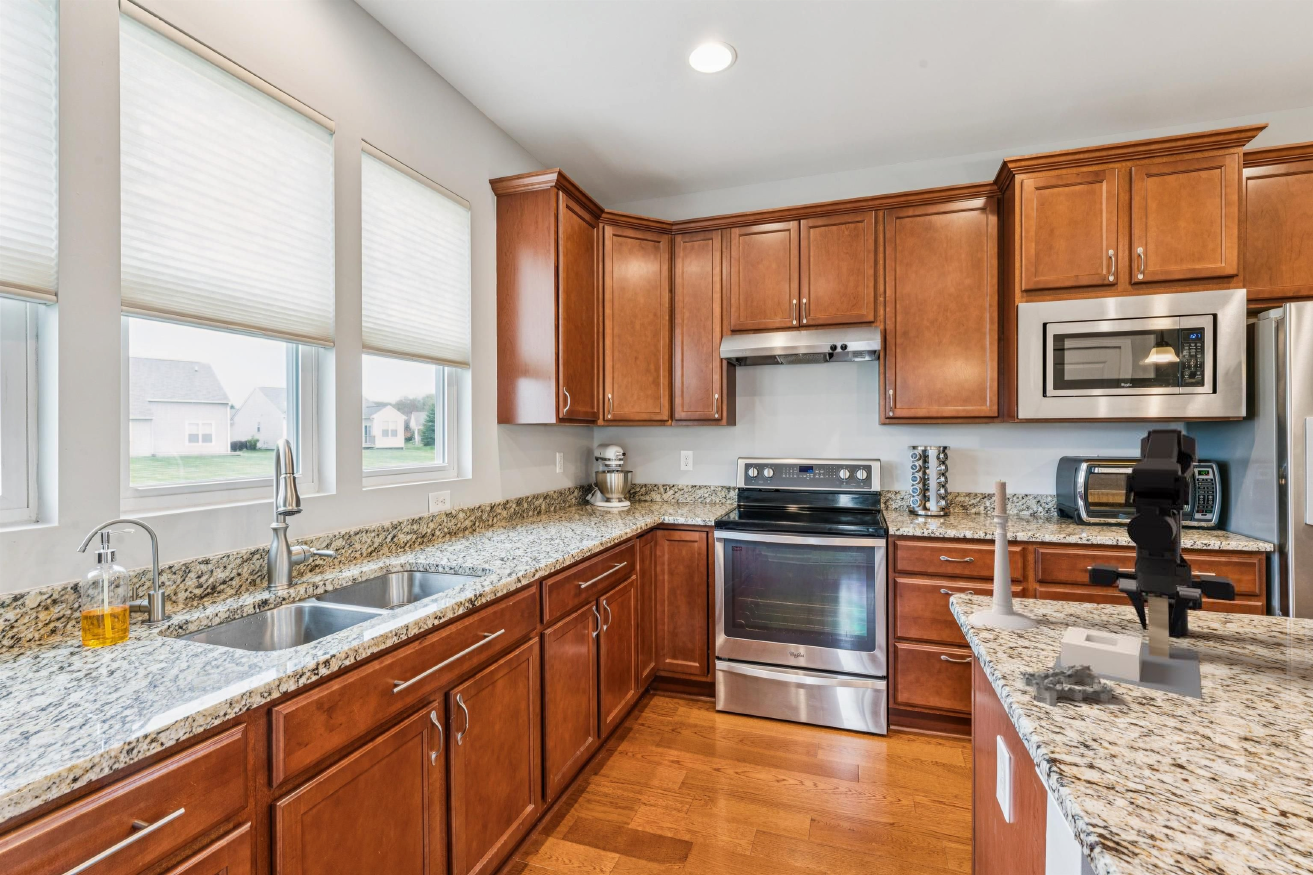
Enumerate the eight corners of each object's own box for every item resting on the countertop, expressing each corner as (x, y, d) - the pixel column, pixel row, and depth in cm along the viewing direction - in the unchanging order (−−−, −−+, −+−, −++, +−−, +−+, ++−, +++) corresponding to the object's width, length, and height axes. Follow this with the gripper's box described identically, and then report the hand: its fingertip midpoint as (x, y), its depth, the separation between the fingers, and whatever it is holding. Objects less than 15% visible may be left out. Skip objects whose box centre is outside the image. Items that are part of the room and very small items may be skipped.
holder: (1069, 648, 104) (1069, 626, 104) (1142, 662, 98) (1142, 638, 98) (1061, 665, 97) (1060, 641, 97) (1139, 681, 90) (1138, 655, 90)
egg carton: (1093, 690, 91) (1092, 664, 91) (1121, 713, 83) (1120, 684, 83) (1016, 685, 93) (1016, 659, 93) (1037, 707, 85) (1036, 679, 85)
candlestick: (1000, 638, 113) (997, 482, 113) (954, 618, 126) (951, 478, 126) (1056, 632, 116) (1053, 480, 116) (1005, 613, 129) (1002, 476, 129)
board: (1071, 635, 114) (1071, 629, 114) (1197, 656, 102) (1197, 651, 102) (1052, 674, 96) (1051, 668, 96) (1201, 705, 84) (1201, 698, 84)
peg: (1149, 650, 103) (1148, 586, 103) (1169, 653, 101) (1168, 588, 101) (1149, 654, 101) (1147, 589, 101) (1169, 658, 99) (1167, 592, 99)
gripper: (1084, 541, 101) (1086, 632, 101) (1236, 554, 89) (1238, 657, 89) (1091, 532, 110) (1093, 616, 110) (1231, 543, 97) (1233, 637, 97)
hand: (1158, 631), depth 101 cm, fingers open, 3 cm apart
